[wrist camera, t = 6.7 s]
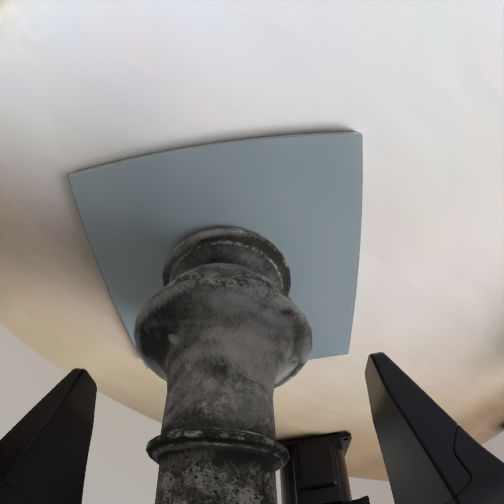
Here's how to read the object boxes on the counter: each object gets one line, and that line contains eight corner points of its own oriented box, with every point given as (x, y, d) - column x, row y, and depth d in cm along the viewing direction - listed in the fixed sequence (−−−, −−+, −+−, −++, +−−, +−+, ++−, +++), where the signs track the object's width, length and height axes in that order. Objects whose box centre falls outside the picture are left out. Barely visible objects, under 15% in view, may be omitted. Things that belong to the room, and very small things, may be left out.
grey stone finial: (309, 316, 14) (358, 593, 4) (190, 343, 15) (165, 593, 4) (278, 200, 11) (357, 650, 1) (131, 244, 12) (16, 575, 1)
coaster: (345, 345, 16) (348, 353, 15) (148, 360, 16) (146, 368, 16) (356, 131, 10) (362, 134, 10) (75, 172, 11) (67, 176, 10)
